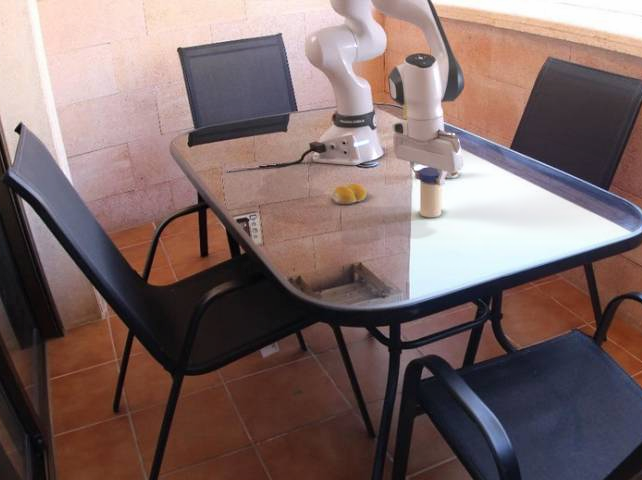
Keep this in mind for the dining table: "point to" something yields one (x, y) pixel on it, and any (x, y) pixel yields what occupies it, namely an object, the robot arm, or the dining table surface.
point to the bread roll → (349, 194)
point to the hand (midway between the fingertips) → (429, 181)
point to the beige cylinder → (430, 199)
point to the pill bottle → (451, 175)
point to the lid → (428, 175)
